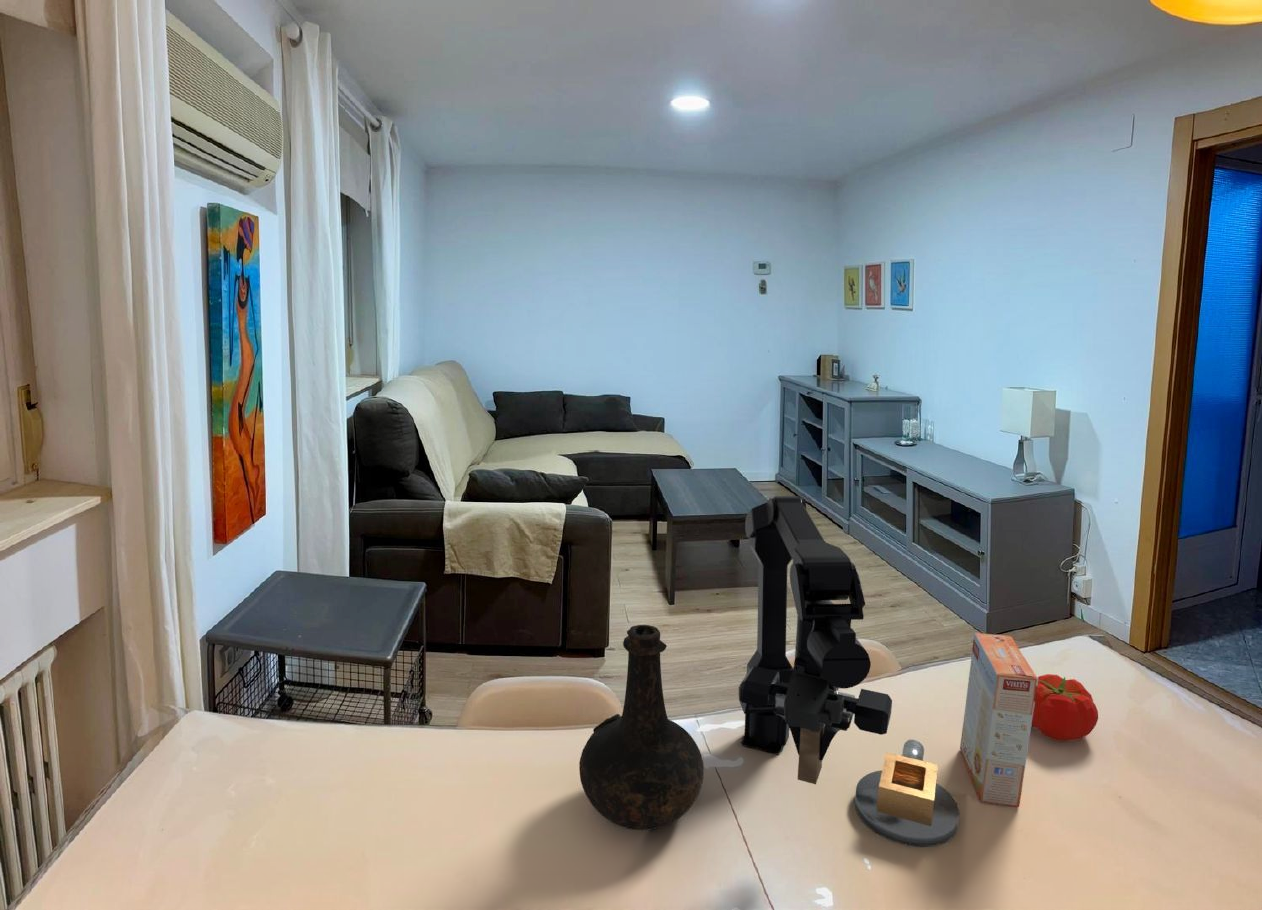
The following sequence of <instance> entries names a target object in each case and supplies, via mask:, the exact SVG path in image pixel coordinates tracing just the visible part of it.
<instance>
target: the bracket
mask: <svg viewBox="0 0 1262 910" xmlns="http://www.w3.org/2000/svg"><path fill="white" fill-rule="evenodd" d="M924 754H925V748H924V746H923V744H922V743H921V742H920V741H918V740H916V739H909V740H906V741H905V742H904V743H903V749H902V754H901V755H899V754H896V753H891V752H887V751H886V752H885V757H884V761H883V764H882V769H881V770H875V771H872V772H870V773H868V774H865V775H864V776H862V777H861V778H860V779H859V780H858V782H857V784H856V787H855V798H854V806H855V811H856V813H857V815H858V816H859V818H860V819H861V821H862V822H863V823H864V824H865V825H866V826H867V827H868V828H869V829H871V830H872V831H874V833H877V834H878V835H879V836H881V837H883V838H885V839H888V840H890V841H893V842H895V843H898V844H902V845H905V844H906V845H907V846H910V847H911V846H912V847H919V848H920V847H921V848H922V847H923V848H924V847H927V848H928V847H934V846H935V847H936V846H940V845H943V844H945V843H947V842H948V841H951V839H953V838H954V836H955V835H956V833H957V831H958V827H959V819H960V809H959V808H960V807H959V804H958V803H957V801H956V799H955V798H954V796H953V795H952V794H951V793H950V792H949V791H948V790H947V789H945V788H944V787H943V786H942V785H940V784H939V783H937V775H938V766H939V765H938V764H937V763H934V762H933V763H932V762H928V761H924Z"/></svg>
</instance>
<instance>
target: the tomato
mask: <svg viewBox="0 0 1262 910" xmlns="http://www.w3.org/2000/svg"><path fill="white" fill-rule="evenodd" d="M1037 678H1038V684H1037V691H1036V698H1035V705H1034V711H1033V717H1032V724H1031V727H1033V728H1036V729H1038V731H1039V732H1040V733H1041V734H1042V735H1043V736H1045V737H1047V738H1048V739H1051V740H1053V741H1057V742H1067V741H1068V742H1069V741H1077V740H1080V739H1081V740H1082V739H1083V738H1085V737H1086V736H1088V735H1090V733H1092V731H1093V730H1094V728H1095V727H1096V726H1097V724H1098V720H1099V711H1098V708H1097V705H1096V704H1095V702H1094V699H1093V697H1092V694H1091V693H1090V692H1089V691H1088V690H1087V688H1086V687H1085V686H1084V685H1083V683H1081V682H1080V681H1078V680H1076V679H1074V678H1072V679H1066V676H1064V677H1061V676H1059V675H1058V674H1043V675H1039V676H1037Z"/></svg>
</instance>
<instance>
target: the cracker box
mask: <svg viewBox="0 0 1262 910" xmlns="http://www.w3.org/2000/svg"><path fill="white" fill-rule="evenodd" d="M972 640H973V641H972V649H971V657H970V659H971V660H970V664H969V665H970V666H969V674H968V676H969V677H968V683H967V688H966V689H967V690H966V691H967V692H966V699H965V707H964V715H963V723H962V729H961V738H960V745H959V749H960V752H961V755H962V758H963V760H964V763H965V766H966V768H967V771H968V774H969V776H970V779H971V783H972V784H973V788H974V791H975V793H976V795H977V796H976V797H977V798H978V800H979V802H980V803H987V804H995V805H1000V806H1001V805H1002V806H1008V807H1014V808H1015V807H1016V808H1020V805H1021V798H1022V793H1023V786H1024V785H1023V784H1024V778H1025V777H1024V776H1025V770H1026V765H1027V764H1026V763H1027V756H1028V753H1029V752H1028V750H1029V744H1030V737H1031V732H1032V731H1031V730H1032V725H1031V724H1032V717H1033V711H1034V705H1035V698H1036V691H1037V684H1038V678H1037V677H1038V676H1037V674H1036V673H1035V671H1034V669H1033V668H1032V667H1031V665H1030V664H1029V662H1028V661H1027V659H1026V658H1025V656H1024V654H1023V653H1022V651H1021V650H1020V648H1019V646H1018V645H1017V643H1016V642H1015V640H1014V639H1013V637H1012V636H1009V635H1005V634H1004V635H1003V634H992V633H991V634H990V633H989V634H988V633H982V632H974V635H973V639H972Z"/></svg>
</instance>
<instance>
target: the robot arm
mask: <svg viewBox="0 0 1262 910" xmlns="http://www.w3.org/2000/svg"><path fill="white" fill-rule="evenodd" d="M744 522H745V524H744V525H745V526H744V527H745V534H746V535H745V536H746V538H748V546H749V547H750V549H751V551H752V552H753V555H754V557H756V560H757V562H758V564H757V565H758V566H757V567H758V569H757V570H758V573H757V574H758V577H757V579H758V580H757V582H758V583H757V585H758V586H757V632H756V633H757V639H756V641H757V643H756V651H755V652H754V653H753V654H752V656H751V658H750V659H749V661H748V662H747V664H746V673H745V674H746V675H745V677H744V678H743V679H742V681H741V682H740V684H739V686H738V702H739V703H740V706H741V708H742V711H743V714H744V731H743V732H744V735H743V737H742V739H741V741H740V745H742V746H744V747H749V748H751V749H752V748H753V749H757V750H760V751H764V752H768V753H771V754H775V755H776V754H777V755H780V754H781V753H782V750H783V747H785V746H786V745H787V743H788V741H789V738H790V733H791V735H792V736H791V737H792V739H793V743H794V746H795V749H796V752H797V754H798V756H799V748H800V733H801V728H805V729H809V730H810V731H813V732H820V731H822V730H823V729H824V733H823V738H822V742H821V747H820V755H819V760H821V761H822V762H823V760H824V757H825V756H826V753H827V751H828V750H829V747H830V745H831V742H832V740H833V739H834V738H835V736H836V735H837V733H838V732H839V731H843V732H844V731H848V730H849V729H850V727H851V723H852V721H853V723H854V725H855V726H856V727H857V728H858V729H859V730H860V731H864V732H869V733H871V734H878V735H886V734H887V733H888V729H889V724H890V721H891V715H892V709H893V699H892V698H891V696H890V695H889V694H887V693H883V692H878V691H875V690H874V691H873V690H870V689H864V688H860V691H859V695H858V698H856V695H854V694H851V693H846V692H842V691H841V692H840V691H839V689H844V690H845V689H849V688H854V687H857V686H858V685H859V684H861V683H862V682H863V681H864V680H865V679H866V678H867V677H868V675H869V673H870V669H871V668H872V667H871V663H872V661H871V659H870V655H869V653H868V651H867V650H866V649H865V647H864V645H862V643H861V642H860V641H859V639H858V638H857V634H856V632H855V630H854V629H853V628H852V625H851V624H852V620H853V621H854V620H855V621H856V620H857V621H858V620H861V621H863V620H864V617H865V615H864V611H863V608H864V607H865V606H866V601H865V596H864V592H863V588H862V585H861V580H860V574H859V572H858V571H857V567H856V565H855V563H853V562H852V561H851V558H850V557H849V556H848V555H847V554H846V552H844V551H843V550H842V548H840V546H839V547H838V546H836V545H834V544H831V543H828V542H827V541H825V539H824V537H823V536H822V534H821V532H820V530H819V529H818V527H817V525H816V523H815V522H814V520H813V519H812V517H811V516H810V514H809V512H808V510H807V504H806V500H805V497H804V498H803V497H800V496H799V495H794V496H793V495H789V496H788V495H787V496H783V495H782V496H778V495H777V496H776V495H775V496H773V497H770V498H769V499H768V500H767V501H766V502H765V503H762V504H760V505H756V506H754V507H752V508H751V509H750V510H749V511H748V513H747V515H746V517H745V521H744ZM791 561H792V564H791V565H790V563H791ZM789 565H790V569H789V584H790V588H791V593H792V598H793V600H794V605H795V610H796V611H795V612H796V614H797V617H796V618H797V621H796V623H797V624H796V634H795V635H796V636H795V637H796V638H795V651H794V661H793V666H792V664H791V662H790V661H789V659H788V657H787V615H788V614H787V611H788V610H787V609H788V608H787V607H788V597H787V596H788V567H789ZM847 600H849V602H850V603H834V602H832V601H847ZM853 718H854V719H853ZM824 726H825V728H824Z"/></svg>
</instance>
